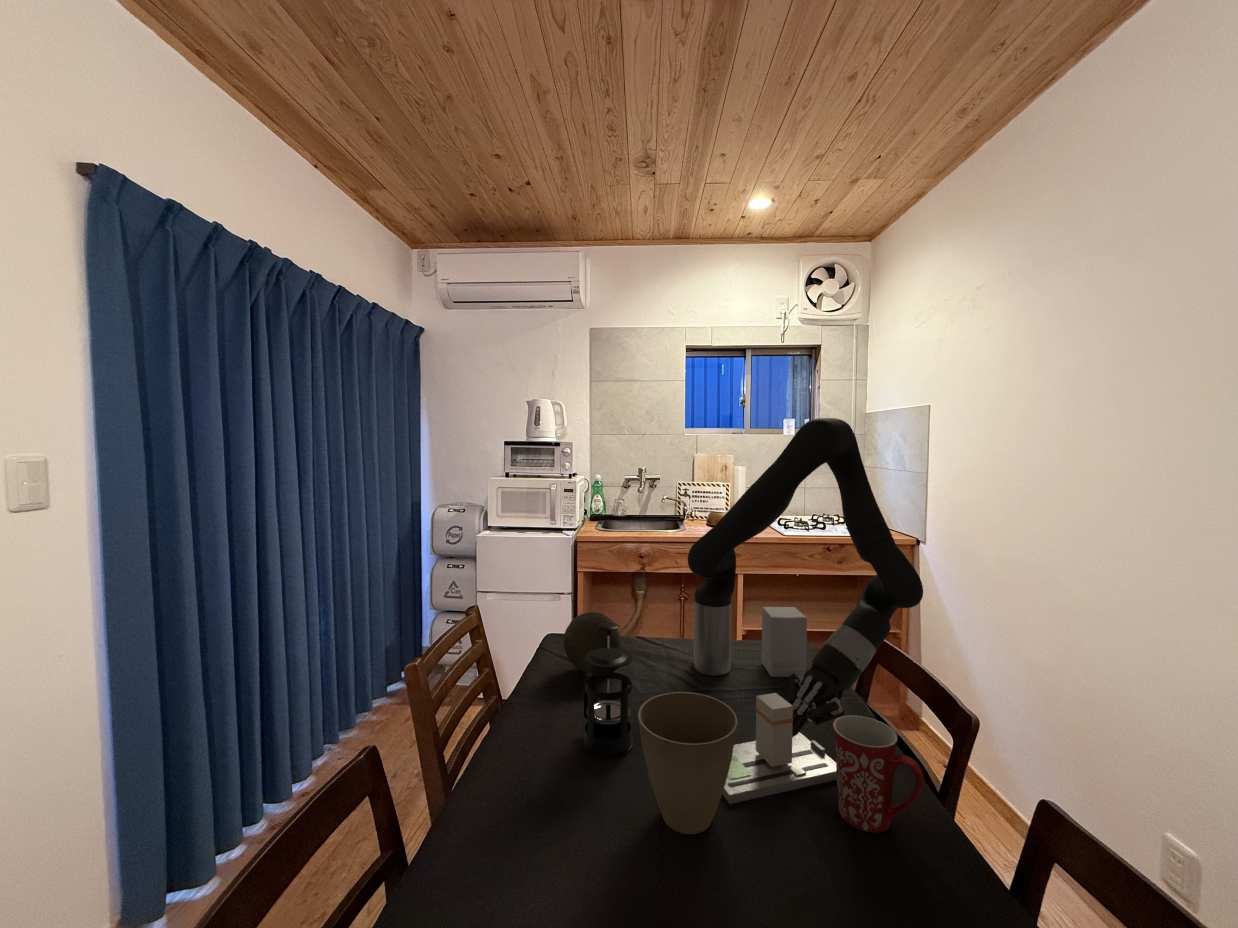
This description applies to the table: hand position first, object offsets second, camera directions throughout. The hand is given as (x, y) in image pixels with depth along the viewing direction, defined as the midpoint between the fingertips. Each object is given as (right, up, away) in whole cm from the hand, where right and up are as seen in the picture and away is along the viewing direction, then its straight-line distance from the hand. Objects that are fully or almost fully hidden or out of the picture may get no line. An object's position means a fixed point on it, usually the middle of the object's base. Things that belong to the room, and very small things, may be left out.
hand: (786, 732), depth 91 cm
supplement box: (+12, -5, +40) cm, 42 cm away
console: (-3, -6, -1) cm, 7 cm away
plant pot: (-19, -6, -13) cm, 24 cm away
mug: (+9, -7, -14) cm, 18 cm away
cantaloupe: (-36, -5, +37) cm, 52 cm away
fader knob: (-2, -4, -1) cm, 5 cm away
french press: (-32, -6, +7) cm, 33 cm away
